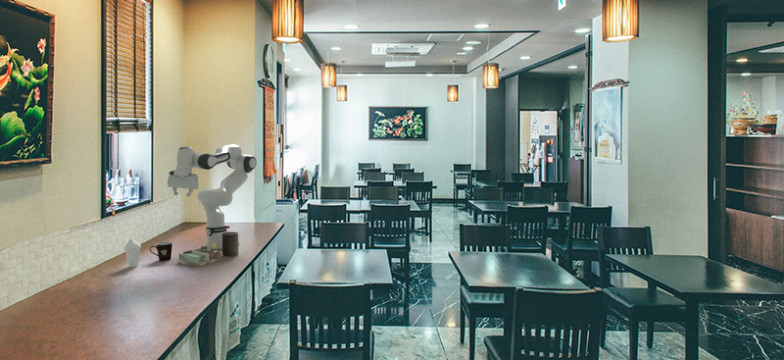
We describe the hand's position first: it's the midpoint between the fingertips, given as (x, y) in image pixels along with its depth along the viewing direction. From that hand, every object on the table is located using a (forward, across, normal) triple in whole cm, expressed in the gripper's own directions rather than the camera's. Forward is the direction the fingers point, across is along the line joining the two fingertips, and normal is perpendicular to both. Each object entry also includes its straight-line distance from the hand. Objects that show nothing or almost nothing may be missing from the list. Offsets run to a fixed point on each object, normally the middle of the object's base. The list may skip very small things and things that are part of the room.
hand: (182, 195), depth 282 cm
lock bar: (+31, -22, 0) cm, 38 cm away
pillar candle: (+36, -26, -16) cm, 47 cm away
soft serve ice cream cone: (+41, +10, +24) cm, 48 cm away
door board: (+37, -19, +3) cm, 42 cm away
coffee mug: (+39, +5, +7) cm, 40 cm away
